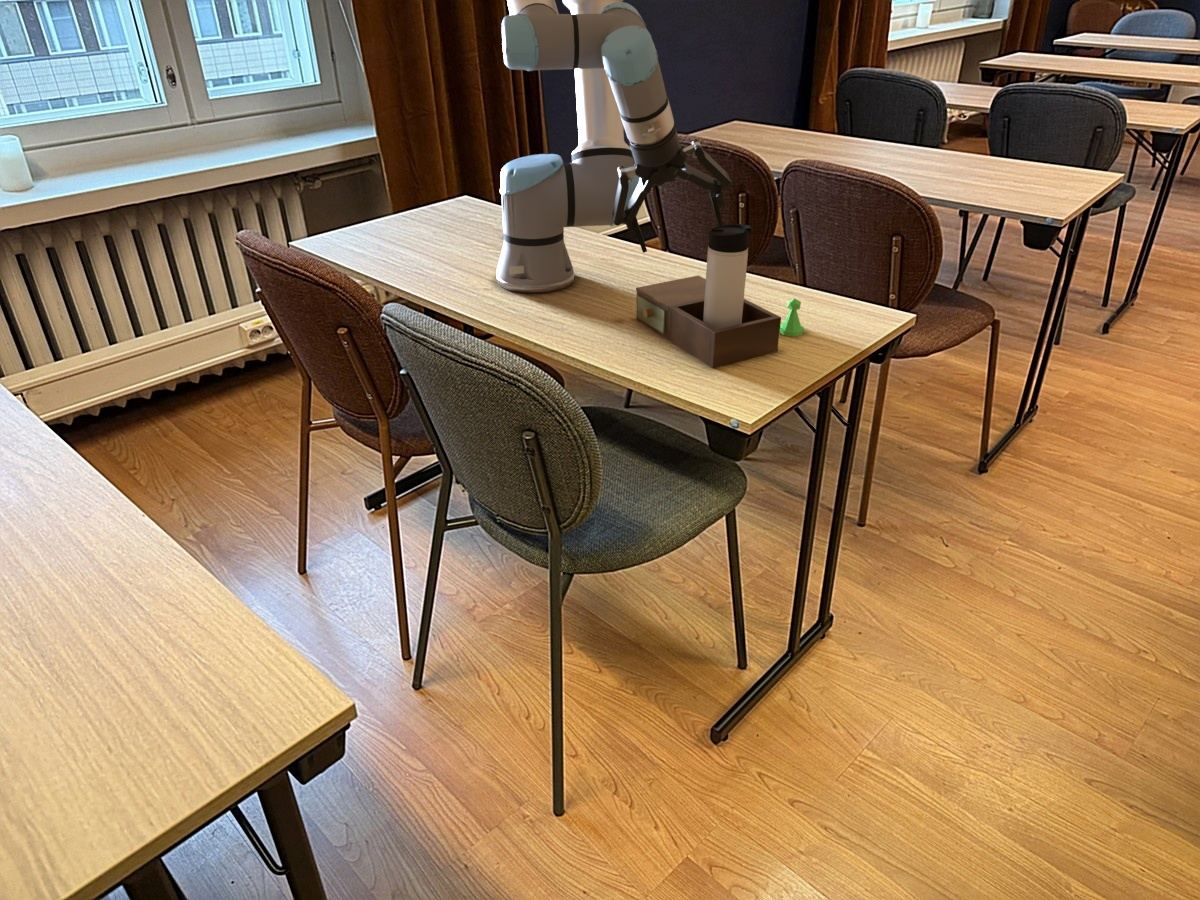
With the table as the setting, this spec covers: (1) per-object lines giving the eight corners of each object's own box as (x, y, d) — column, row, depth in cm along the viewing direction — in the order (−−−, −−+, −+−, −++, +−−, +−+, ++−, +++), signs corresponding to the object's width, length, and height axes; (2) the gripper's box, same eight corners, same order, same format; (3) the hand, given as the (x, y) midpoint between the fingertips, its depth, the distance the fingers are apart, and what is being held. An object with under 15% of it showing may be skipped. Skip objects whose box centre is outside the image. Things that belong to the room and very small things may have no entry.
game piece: (808, 331, 146) (813, 298, 143) (794, 338, 144) (798, 304, 141) (787, 324, 149) (791, 292, 146) (773, 331, 146) (776, 298, 143)
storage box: (629, 321, 150) (629, 288, 147) (696, 306, 156) (698, 275, 153) (705, 370, 133) (708, 334, 130) (777, 351, 139) (781, 317, 136)
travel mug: (740, 354, 138) (751, 232, 128) (699, 351, 139) (707, 230, 129) (742, 339, 143) (753, 221, 133) (703, 336, 144) (711, 218, 134)
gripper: (577, 173, 131) (616, 271, 147) (735, 116, 127) (756, 224, 143) (572, 145, 135) (609, 244, 152) (723, 90, 131) (745, 197, 148)
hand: (681, 234), depth 148 cm, fingers open, 13 cm apart
